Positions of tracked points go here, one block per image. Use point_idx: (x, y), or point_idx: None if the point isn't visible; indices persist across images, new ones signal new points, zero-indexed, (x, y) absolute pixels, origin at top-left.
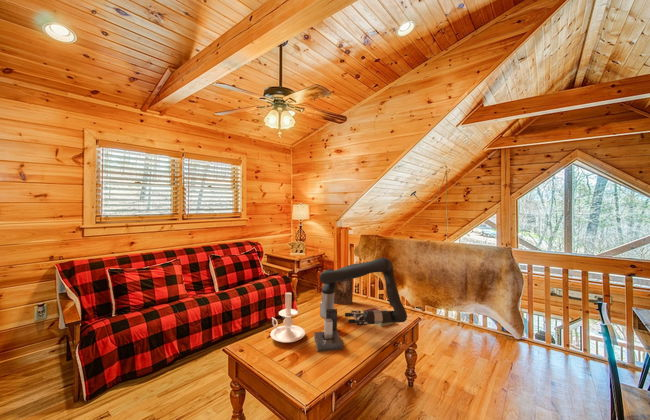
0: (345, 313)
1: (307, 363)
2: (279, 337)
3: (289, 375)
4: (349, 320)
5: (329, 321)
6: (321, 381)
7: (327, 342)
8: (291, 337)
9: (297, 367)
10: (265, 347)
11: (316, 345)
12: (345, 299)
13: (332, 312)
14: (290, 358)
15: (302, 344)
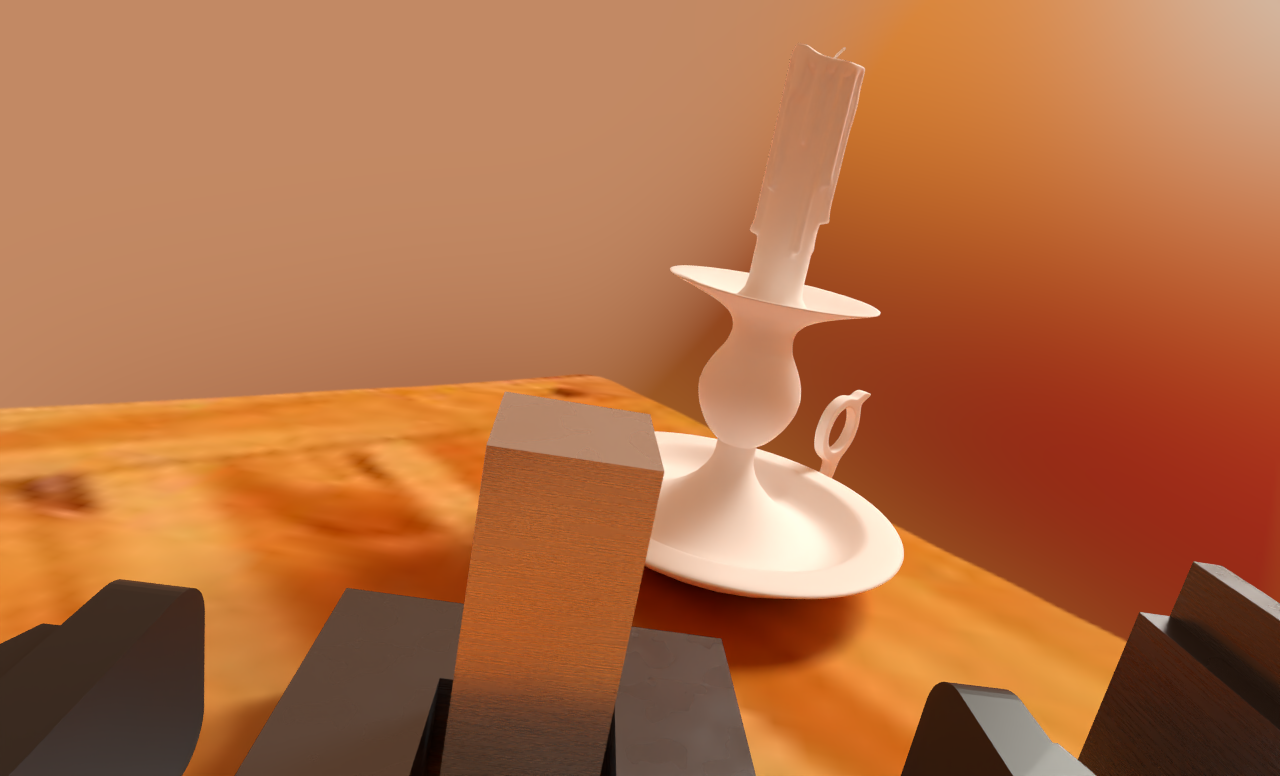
0: (946, 682)
1: (165, 558)
2: (675, 477)
3: (103, 452)
4: (100, 618)
5: (516, 422)
6: None
7: (338, 699)
8: (656, 513)
9: (168, 499)
10: None
11: None
12: None
13: (1271, 720)
14: (349, 497)
15: None
